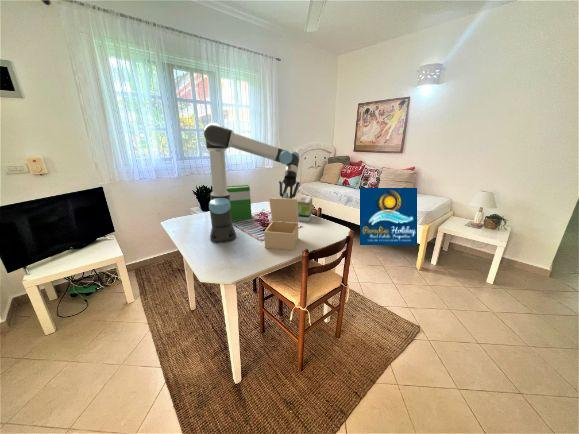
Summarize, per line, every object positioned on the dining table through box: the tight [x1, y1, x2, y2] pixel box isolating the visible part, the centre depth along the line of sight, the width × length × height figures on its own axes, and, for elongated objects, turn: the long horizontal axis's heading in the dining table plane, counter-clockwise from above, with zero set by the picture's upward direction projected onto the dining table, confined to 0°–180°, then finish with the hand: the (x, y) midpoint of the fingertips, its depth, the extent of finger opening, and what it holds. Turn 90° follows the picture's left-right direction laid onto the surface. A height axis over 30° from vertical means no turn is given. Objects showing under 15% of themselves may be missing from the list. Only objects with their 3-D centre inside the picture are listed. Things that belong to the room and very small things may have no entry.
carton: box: [263, 220, 299, 251], centre depth 129 cm, size 16×16×10 cm
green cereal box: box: [227, 184, 253, 222], centre depth 166 cm, size 18×7×24 cm, turn 107°
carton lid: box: [268, 192, 300, 224], centre depth 133 cm, size 16×16×9 cm
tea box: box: [297, 196, 313, 223], centre depth 166 cm, size 15×10×15 cm
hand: (285, 206), depth 133 cm, fingers closed on carton lid, 2 cm apart
